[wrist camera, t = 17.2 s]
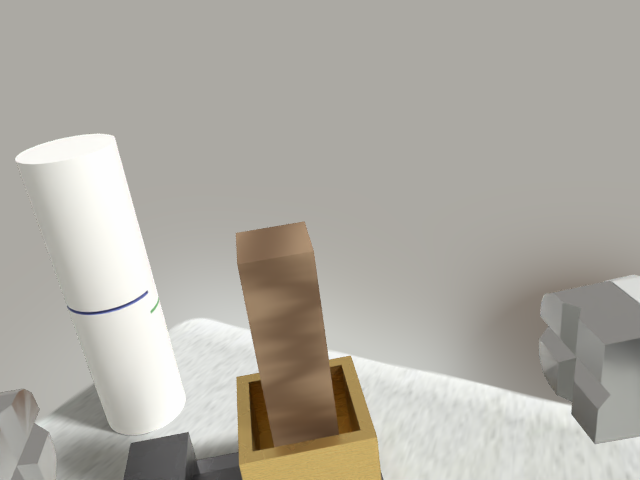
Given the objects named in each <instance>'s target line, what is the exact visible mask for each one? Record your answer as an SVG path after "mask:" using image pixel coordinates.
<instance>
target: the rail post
mask: <svg viewBox="0 0 640 480" xmlns="http://www.w3.org/2000/svg"><path fill="white" fill-rule="evenodd" d="M236 246H237V264H238V270H239V275H240V280H241V285H242V290H243V295H244V300H245V305H246V310H247V314H248V319H249V324H250V329H251V334H252V339H253V344H254V349H255V354H256V359H257V364H258V369H259V374H260V379H261V384H262V389H263V394H264V399H265V404H266V408H267V413H268V418H269V423H270V428H271V433H272V438H273V443H274V447H279V446H284V445H289V444H294V443H299V442H304V441H309V440H314V439H319V438H324V437H329V436H334V435H339V430H338V423H337V416H336V409H335V401H334V394H333V387H332V380H331V373H330V365H329V358H328V351H327V344H326V337H325V329H324V322H323V315H322V307H321V300H320V294H319V286H318V279H317V272H316V264H315V257H314V251H313V248H312V244H311V241H310V238H309V235H308V232H307V228H306V225H305V222H299V223H293V224H287V225H281V226H275V227H269V228H263V229H257V230H251V231H246V232H240V233H236Z"/></svg>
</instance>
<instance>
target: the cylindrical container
mask: <svg viewBox="0 0 640 480" xmlns="http://www.w3.org/2000/svg"><path fill="white" fill-rule="evenodd" d="M15 160H16V163H17V166H18V169H19V172H20V175H21V178H22V180H23V183H24V186H25V189H26V192H27V195H28V197H29V200H30V203H31V206H32V208H33V211H34V214H35V217H36V220H37V223H38V226H39V228H40V231H41V234H42V237H43V240H44V242H45V245H46V248H47V251H48V254H49V257H50V259H51V262H52V265H53V268H54V271H55V274H56V276H57V279H58V282H59V285H60V288H61V291H62V294H63V296H64V299H65V302H66V304H67V308H68V310H69V313H70V316H71V319H72V322H73V325H74V328H75V330H76V333H77V336H78V339H79V341H80V344H81V347H82V350H83V353H84V356H85V359H86V362H87V364H88V367H89V370H90V373H91V375H92V378H93V381H94V384H95V387H96V390H97V393H98V395H99V398H100V401H101V404H102V407H103V410H104V412H105V415H106V418H107V421H108V423H109V426H110V427H111V428H112V429H113V430H114V431H116V432H117V433H120V434H123V435H141V434H146V433H149V432H152V431H155V430H157V429H159V428H162V427H164V426H165V425H167V424H168V423H170V422H171V421H172V420H173V419H175V418H176V417H177V416H178V415H179V413H180V412H181V411H182V409H183V407H184V405H185V400H186V396H185V393H184V389H183V385H182V382H181V378H180V374H179V371H178V367H177V363H176V359H175V356H174V352H173V348H172V345H171V341H170V337H169V334H168V330H167V326H166V323H165V319H164V315H163V312H162V308H161V305H160V301H159V297H158V293H157V290H156V286H155V282H154V279H153V276H152V271H151V268H150V264H149V261H148V257H147V253H146V250H145V246H144V243H143V239H142V235H141V232H140V228H139V224H138V221H137V217H136V213H135V210H134V206H133V202H132V199H131V195H130V192H129V188H128V184H127V181H126V177H125V173H124V170H123V166H122V162H121V159H120V155H119V152H118V148H117V144H116V141H115V137H113V136H112V135H108V134H88V135H79V136H72V137H67V138H62V139H58V140H54V141H50V142H46V143H43V144H41V145H37V146H35V147H32V148H29V149H27V150H25V151H23V152H22V153H20V154H19V155H18V156H17V157H16V159H15Z"/></svg>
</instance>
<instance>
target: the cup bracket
mask: <svg viewBox="0 0 640 480" xmlns="http://www.w3.org/2000/svg"><path fill="white" fill-rule="evenodd" d="M329 365H330V373H331V380H332V387H333V394H334V401H335V409H336V416H337V423H338V430H339V435H334V436H329V437H324V438H319V439H314V440H309V441H304V442H299V443H294V444H289V445H284V446H279V447H274V443H273V438H272V433H271V428H270V423H269V418H268V413H267V408H266V404H265V399H264V394H263V389H262V384H261V379H260V374H259V373H256V374H250V375H245V376H240V377H237V411H238V445H239V452H237V453H232V454H227V455H222V456H217V457H212V458H206V459H201V460H196V457H195V453H194V450H193V446H192V443H191V439H190V435H189V432H187V433H182V434H176V435H171V436H166V437H161V438H156V439H151V440H145V441H140V442H135V443H131V445H130V450H129V455H128V460H127V465H126V470H125V476H124V480H383V477H382V473H381V470H380V461H379V451H378V441H377V435H376V432H375V429H374V426H373V423H372V420H371V417H370V414H369V411H368V408H367V404H366V401H365V398H364V395H363V392H362V389H361V386H360V383H359V380H358V376H357V373H356V370H355V367H354V364H353V361H352V358H351V356H346V357H341V358H336V359H330V360H329Z"/></svg>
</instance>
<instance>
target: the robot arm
mask: <svg viewBox="0 0 640 480" xmlns="http://www.w3.org/2000/svg"><path fill="white" fill-rule="evenodd" d="M540 316H541V317H542V319H543V320H544V321H545V322H546V323H547V324H548V325H549V326H548V328H547V329H546V330H545V332H544V333H543V335H542V336H541V337H540V339H539V357H540V361H541V366H542V370H543V373H544V375H545V377H546V379H547V381H548V383H549V385H550V386H551V388H552V389H553V391H554V392H555V393H556V395H558V396H560V397H563V398H565V399H567V400H569V401H571V402H572V412H571V414H572V415H573V417H574V418H575V419H576V421H577V422H578V423H579V424H580V426H581V427H582V428H583V430H584V431H585V432H586V433H587V435H588V436H589V437H590V438H591V440H592V441H593V442H594V444H599V443H605V442H610V441H616V440H622V439H627V438H633V437H639V436H640V276H636V275H630V276H625V277H621V278H616V279H612V280H608V281H604V282H600V283H596V284H591V285H586V286H581V287H576V288H571V289H566V290H561V291H556V292H551V293H546V294H544V297H543V299H542V302H541V314H540ZM38 412H39V407H38V405H37V403H36V401H35V399H34V397H33V395H32V393H31V392H29V391H27V390H25V389H19V390H14V391H7V392H1V393H0V480H56V466H57V458H56V453H55V448H54V444H53V441H52V439H51V436H50V434H49V432H48V431H46V430H45V429H43V428H41V427H40V426H38V425H36V424H35V423H34V422H35V420H36V417H37V415H38Z"/></svg>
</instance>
